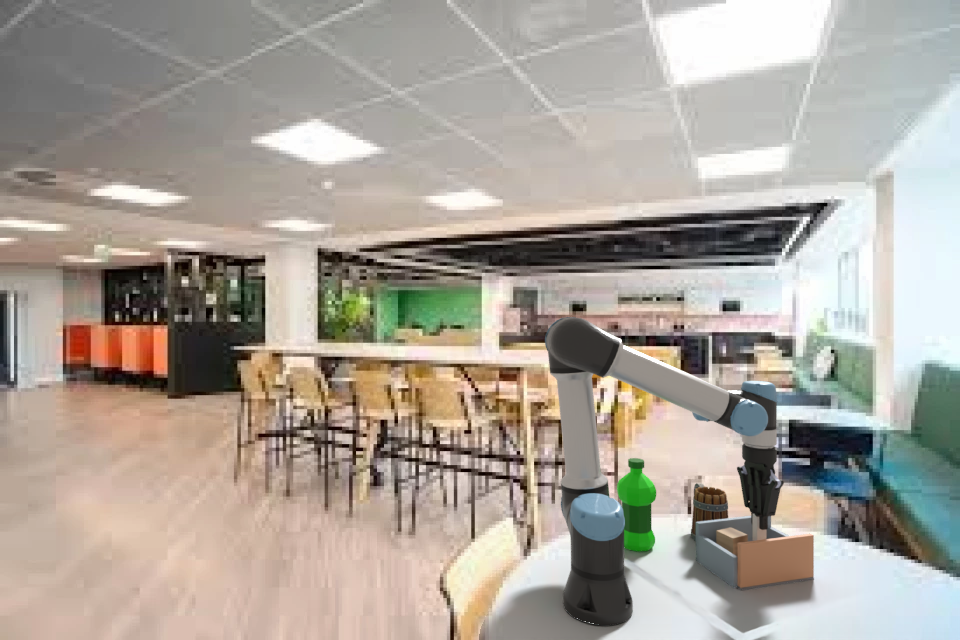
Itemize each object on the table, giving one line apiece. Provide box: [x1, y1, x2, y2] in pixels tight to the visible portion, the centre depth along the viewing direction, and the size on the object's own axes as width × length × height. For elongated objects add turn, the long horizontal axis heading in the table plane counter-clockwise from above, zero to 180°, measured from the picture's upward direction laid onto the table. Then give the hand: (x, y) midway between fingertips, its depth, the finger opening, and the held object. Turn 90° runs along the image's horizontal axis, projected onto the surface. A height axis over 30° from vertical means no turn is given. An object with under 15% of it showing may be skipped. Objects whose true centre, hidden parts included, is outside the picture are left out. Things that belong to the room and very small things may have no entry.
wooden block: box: [716, 527, 748, 557], centre depth 132 cm, size 5×5×9 cm
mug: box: [690, 482, 729, 543], centre depth 152 cm, size 16×11×15 cm
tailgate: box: [736, 533, 815, 591], centre depth 125 cm, size 20×1×11 cm, turn 104°
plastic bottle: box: [616, 457, 657, 553], centre depth 146 cm, size 10×10×25 cm
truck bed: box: [695, 515, 790, 589], centre depth 132 cm, size 22×14×12 cm, turn 104°
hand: (759, 540), depth 130 cm, fingers closed
